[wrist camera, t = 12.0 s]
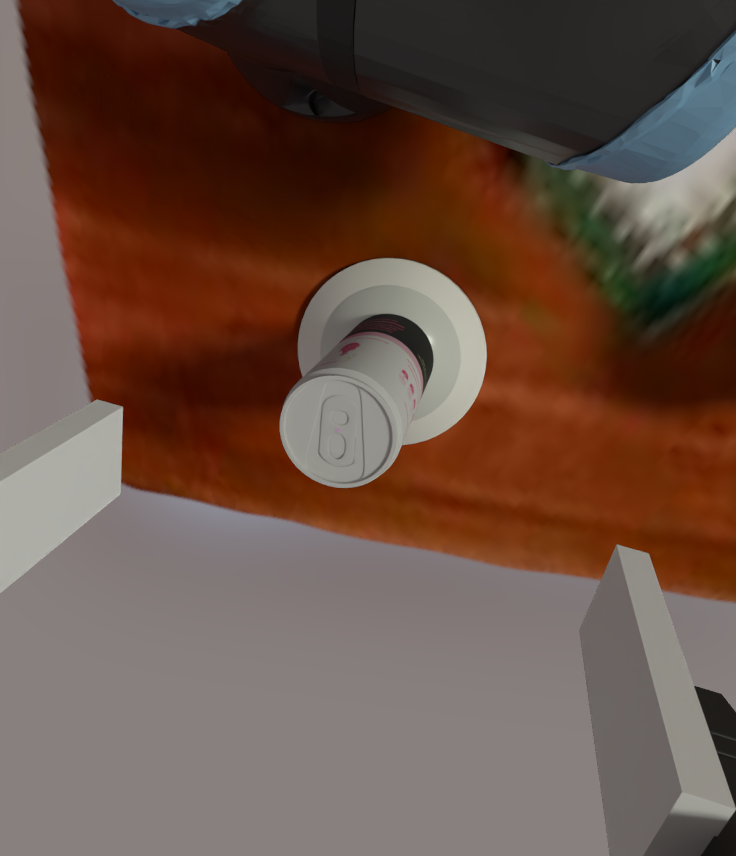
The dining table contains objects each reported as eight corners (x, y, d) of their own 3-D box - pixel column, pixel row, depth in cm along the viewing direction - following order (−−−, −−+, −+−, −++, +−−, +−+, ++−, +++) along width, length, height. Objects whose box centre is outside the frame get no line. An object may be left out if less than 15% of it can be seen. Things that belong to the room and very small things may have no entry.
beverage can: (342, 391, 47) (273, 477, 34) (350, 305, 45) (279, 361, 31) (427, 406, 46) (391, 502, 33) (441, 319, 44) (408, 384, 30)
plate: (263, 336, 48) (260, 338, 47) (405, 214, 42) (403, 214, 42) (378, 473, 50) (376, 477, 49) (526, 374, 45) (526, 377, 44)
